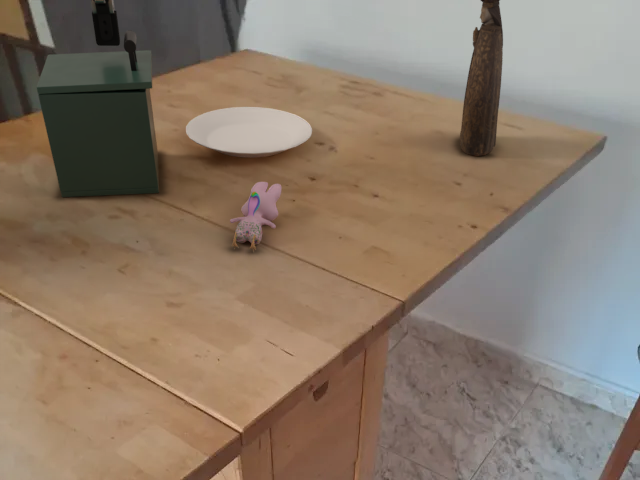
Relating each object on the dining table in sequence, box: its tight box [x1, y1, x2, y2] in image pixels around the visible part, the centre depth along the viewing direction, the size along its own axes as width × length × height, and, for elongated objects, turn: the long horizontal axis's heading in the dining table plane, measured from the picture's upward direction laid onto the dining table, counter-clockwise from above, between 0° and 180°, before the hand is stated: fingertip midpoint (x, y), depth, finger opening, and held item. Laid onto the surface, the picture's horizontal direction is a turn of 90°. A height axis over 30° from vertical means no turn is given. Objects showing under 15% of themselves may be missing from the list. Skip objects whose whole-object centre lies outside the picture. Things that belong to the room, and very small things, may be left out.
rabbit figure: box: [229, 181, 283, 253], centre depth 91 cm, size 6×6×15 cm
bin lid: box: [36, 29, 153, 94], centre depth 93 cm, size 14×15×5 cm
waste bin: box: [37, 89, 160, 198], centre depth 99 cm, size 14×15×14 cm
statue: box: [459, 0, 504, 157], centre depth 109 cm, size 9×8×25 cm
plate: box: [185, 106, 313, 159], centre depth 114 cm, size 21×21×2 cm
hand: (108, 43), depth 97 cm, fingers closed
